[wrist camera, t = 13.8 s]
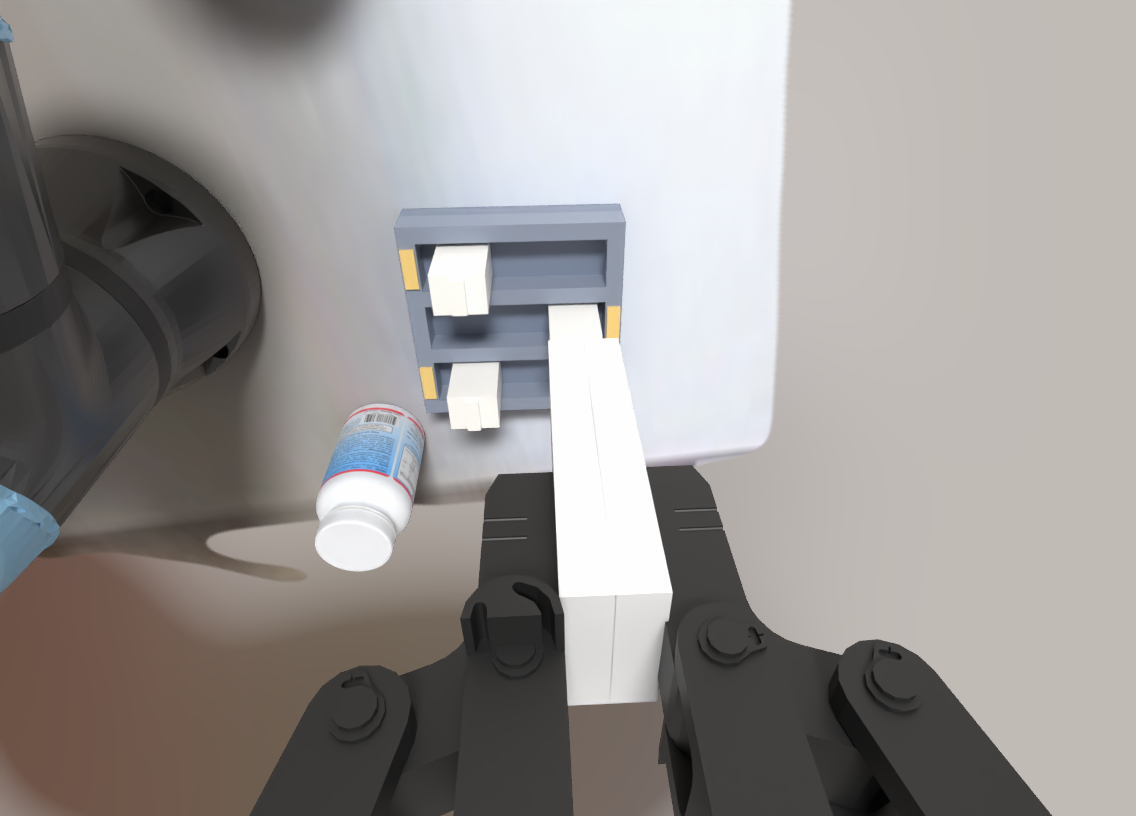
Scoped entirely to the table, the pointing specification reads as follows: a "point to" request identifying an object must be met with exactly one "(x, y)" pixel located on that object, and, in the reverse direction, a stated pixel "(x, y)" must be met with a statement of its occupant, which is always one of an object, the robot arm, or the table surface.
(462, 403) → the tab
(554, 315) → the tab
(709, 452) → the table surface
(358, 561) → the pill bottle
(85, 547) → the table surface
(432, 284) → the tab
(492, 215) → the switch bank
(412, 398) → the table surface
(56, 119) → the table surface
